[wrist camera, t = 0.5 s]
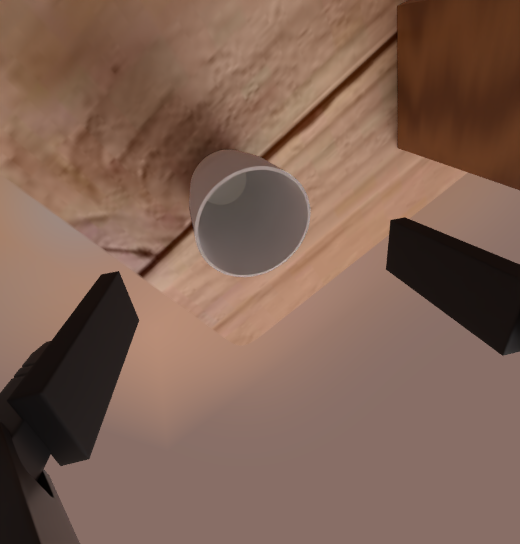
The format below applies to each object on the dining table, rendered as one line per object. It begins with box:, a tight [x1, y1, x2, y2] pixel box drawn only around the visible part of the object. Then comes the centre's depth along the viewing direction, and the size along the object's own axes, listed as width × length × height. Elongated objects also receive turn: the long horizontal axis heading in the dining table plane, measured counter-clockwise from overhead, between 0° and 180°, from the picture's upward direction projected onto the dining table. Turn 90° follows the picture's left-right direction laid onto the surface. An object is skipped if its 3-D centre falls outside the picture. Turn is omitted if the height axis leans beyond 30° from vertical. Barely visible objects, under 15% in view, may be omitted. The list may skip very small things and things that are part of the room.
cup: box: [189, 150, 310, 277], centre depth 22 cm, size 8×8×10 cm
